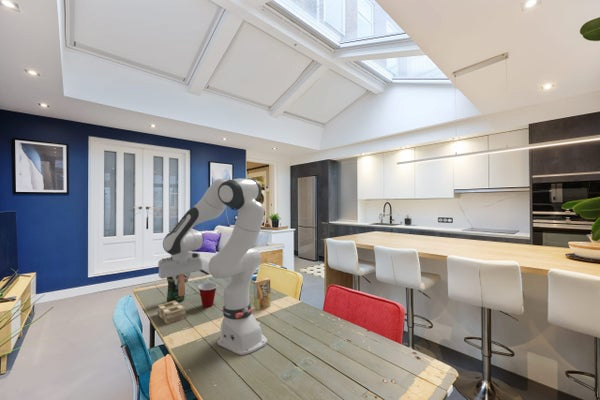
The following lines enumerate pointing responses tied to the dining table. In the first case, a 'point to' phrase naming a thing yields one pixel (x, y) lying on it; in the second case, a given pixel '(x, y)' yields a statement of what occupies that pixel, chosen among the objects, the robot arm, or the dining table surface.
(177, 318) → the hole block
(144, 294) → the dining table surface
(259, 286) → the candy box
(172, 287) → the coffee jar
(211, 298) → the plastic cup
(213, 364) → the dining table surface
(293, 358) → the dining table surface
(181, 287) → the peg
